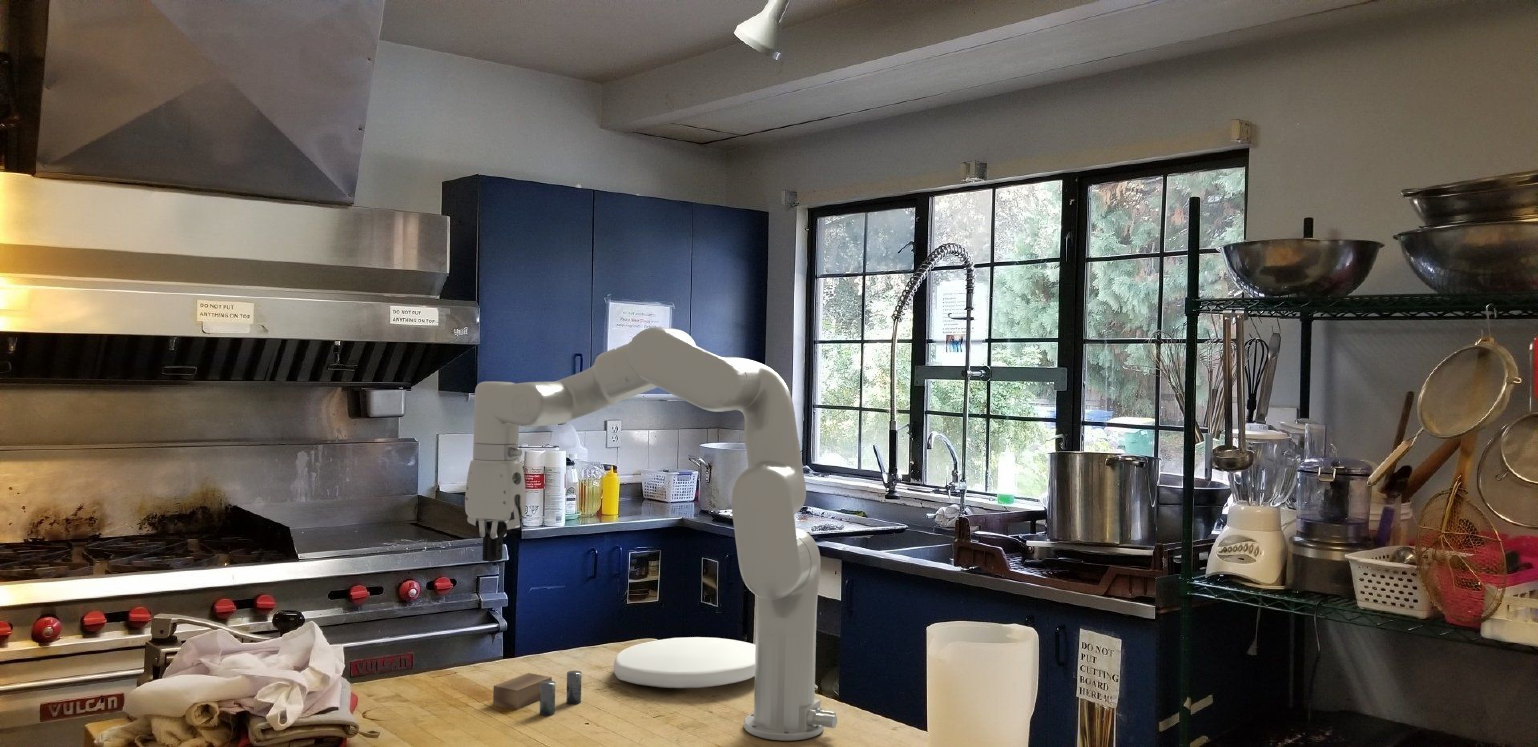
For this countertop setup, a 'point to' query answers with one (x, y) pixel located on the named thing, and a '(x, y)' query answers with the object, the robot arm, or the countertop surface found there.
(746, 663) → the white thick disc
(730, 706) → the countertop surface
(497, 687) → the block
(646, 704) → the countertop surface
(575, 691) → the bench dogs
